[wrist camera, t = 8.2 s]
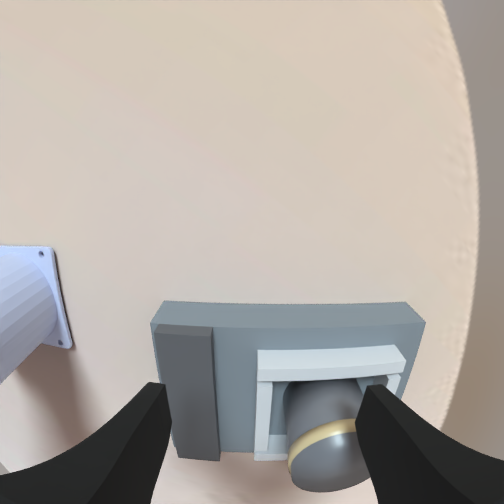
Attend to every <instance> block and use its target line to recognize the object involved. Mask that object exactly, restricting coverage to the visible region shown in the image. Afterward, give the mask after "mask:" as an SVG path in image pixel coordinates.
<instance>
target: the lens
mask: <svg viewBox="0 0 504 504" xmlns="http://www.w3.org/2000/svg"><path fill="white" fill-rule="evenodd" d="M363 396H364V395H363V393H362V391H361V389H360V386H359V384H358V382H357V379H356V378H344V379H329V380H309V381H291V382H290V383H289V384H288V385H287V387H286V389H285V391H284V394H283V406H284V414H285V423H286V432H287V441H288V454H287V458H288V468H289V472H290V474H291V477H292V481H293V483H294V484H295V485H296V486H297V487H299V488H301V489H303V490H306V491H311V492H332V491H338V490H342V489H346V488H349V487H352V486H355V485H357V484H359V483H361V482H363V481H365V480H367V479H368V478H370V474H369V472H368V469H367V466H366V463H365V460H364V458H363V455H362V452H361V449H360V446H359V442H358V437H357V432H356V427H355V420H356V417H357V415H358V412H359V409H360V406H361V403H362V400H363Z"/></svg>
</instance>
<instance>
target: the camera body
mask: <svg viewBox="0 0 504 504" xmlns="http://www.w3.org/2000/svg"><path fill="white" fill-rule="evenodd" d="M425 324H426V322H425V321H424V320H423V319H422V318H421V317H420V316H419V315H418V314H417V313H416V312H415V311H414V310H413V309H412V308H411V307H410V306H409V305H408V304H407V303H406V302H395V303H367V304H230V303H200V302H178V301H164V302H163V303H162V305H161V307H160V308H159V310H158V311H157V313H156V314H155V316H154V318H153V319H152V321H151V323H150V325H151V332H152V339H153V346H154V352H155V358H156V364H157V370H158V375H159V380H160V383H161V384H165V385H166V391H167V397H168V402H169V408H170V413H171V418H172V426H171V436H172V440H173V444H174V447H176V450H177V454H178V457H179V458H187V459H197V460H208V461H220V454H221V451H224V452H254V461H275V460H288V458H287V454H288V441H287V432H286V423H285V414H284V406H283V394H284V391H285V389H286V387H287V385H288V384H289V383H290V382H291V381H309V380H329V379H344V378H356V379H357V382H358V384H359V386H360V389H361V391H362V393H363V395H364V393H365V390H366V387H367V385H377V384H382V385H384V386H385V387H386V388H387V389H388V390H390V391H391V392H392V393H393V394H394V395H395V396H397V397H398V398H399V399H400V400H401V398H402V395H403V393H404V390H405V387H406V384H407V382H408V379H409V376H410V373H411V370H412V367H413V364H414V361H415V358H416V355H417V351H418V348H419V345H420V341H421V338H422V335H423V331H424V327H425Z"/></svg>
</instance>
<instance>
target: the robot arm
mask: <svg viewBox="0 0 504 504" xmlns="http://www.w3.org/2000/svg"><path fill="white" fill-rule="evenodd" d="M42 252H43V254H44V256H43V255H42ZM61 341H62V342H63V343H62V342H61ZM41 343H42V344H46V345H51V346H56V347H61V348H66V349H69V348H70V347H71V346H72V339H71V335H70V332H69V328H68V324H67V319H66V315H65V311H64V306H63V302H62V297H61V292H60V287H59V281H58V275H57V269H56V263H55V256H54V251H53V250H52V248H51V247H48V246H0V384H1V383H2V382H3V381H4V380H5V379H6V378H7V377H8V376H9V375H10V374H11V373H12V372H13V371H14V370H15V369H16V368H17V367H18V366H19V365H20V364H21V363H22V362H23V361H24V360H25V359H26V358H27V357H28V356H29V355H30V354H31V353H32V352H33V351H34V350H35V349H36V348H37V347H38V346H39V345H40V344H41ZM171 426H172V418H171V413H170V408H169V402H168V397H167V391H166V385H165V384H161V383H153V382H149V383H147V384H146V385H145V386H144V387H143V388H142V389H141V390H140V391H139V392H138V393H137V394H136V395H135V397H134V398H133V399H132V400H131V401H130V402H129V403H128V404H127V405H125V406H124V407H123V408H122V409H121V410H120V411H119V412H118V413H117V414H116V415H115V416H114V417H113V418H112V419H110V420H109V421H108V422H107V423H106V424H104V425H103V426H102V427H101V428H100V429H98V430H97V431H96V432H95V433H93V434H92V435H91V436H89V437H88V438H86V439H85V440H84V441H82V442H81V443H79V444H78V445H76V446H74V447H73V448H71V449H69V450H67V451H66V452H64V453H62V454H60V455H58V456H56V457H54V458H52V459H50V460H48V461H45V462H43V463H41V464H38V465H35V466H33V467H30V468H27V469H24V470H20V471H16V472H12V473H9V474H4V475H0V504H150V503H151V499H152V495H153V491H154V488H155V484H156V481H157V478H158V475H159V472H160V469H161V466H162V463H163V460H164V456H165V453H166V450H167V447H168V443H169V438H170V432H171ZM355 427H356V432H357V437H358V442H359V446H360V449H361V452H362V455H363V458H364V460H365V463H366V466H367V469H368V472H369V474H370V477H371V480H372V483H373V486H374V489H375V492H376V495H377V499H378V504H504V461H503V460H500V459H496V458H493V457H490V456H488V455H485V454H482V453H480V452H477V451H475V450H473V449H471V448H468V447H466V446H464V445H462V444H460V443H459V442H457V441H455V440H454V439H452V438H450V437H448V436H447V435H445V434H444V433H442V432H440V431H439V430H438V429H436V428H435V427H433V426H432V425H431V424H429V423H428V422H427V421H425V420H424V419H423V418H421V417H420V416H419V415H418V414H416V413H415V412H414V411H413V410H412V409H410V408H409V407H408V406H407V405H406V404H405V403H403V402H402V401H401V400H400V399H399V398H398V397H397V396H395V395H394V394H393V393H392V392H391V391H390V390H388V389H387V388H386V387H385V386H384V385H382V384H377V385H367V387H366V390H365V393H364V396H363V400H362V403H361V406H360V409H359V412H358V415H357V417H356V420H355Z"/></svg>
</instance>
